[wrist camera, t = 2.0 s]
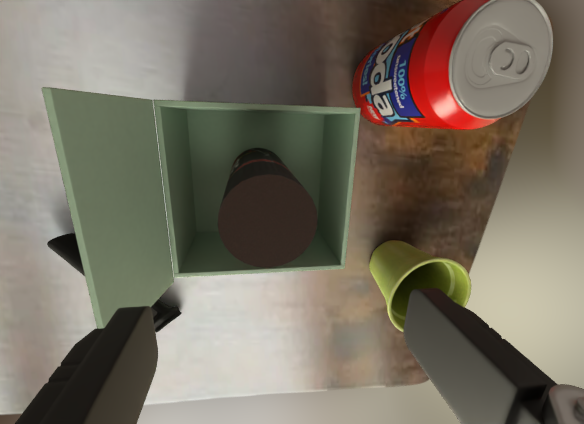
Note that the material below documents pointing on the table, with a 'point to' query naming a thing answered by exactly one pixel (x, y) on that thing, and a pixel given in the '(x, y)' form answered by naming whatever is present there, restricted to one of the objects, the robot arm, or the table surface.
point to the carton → (217, 166)
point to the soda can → (457, 67)
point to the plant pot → (415, 277)
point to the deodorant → (265, 211)
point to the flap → (113, 196)
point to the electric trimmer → (70, 253)
